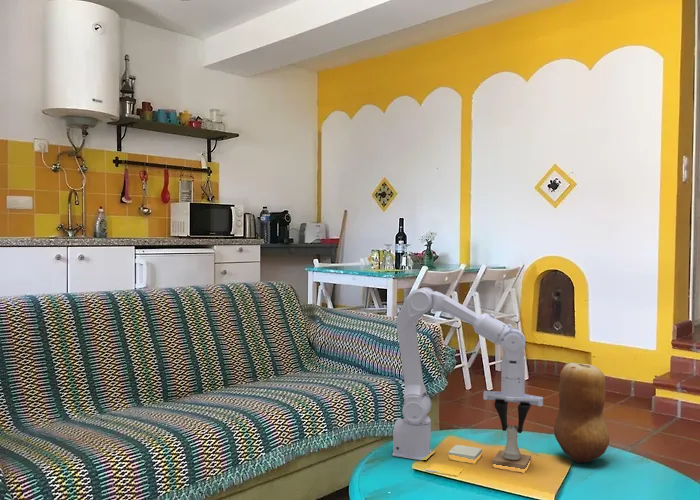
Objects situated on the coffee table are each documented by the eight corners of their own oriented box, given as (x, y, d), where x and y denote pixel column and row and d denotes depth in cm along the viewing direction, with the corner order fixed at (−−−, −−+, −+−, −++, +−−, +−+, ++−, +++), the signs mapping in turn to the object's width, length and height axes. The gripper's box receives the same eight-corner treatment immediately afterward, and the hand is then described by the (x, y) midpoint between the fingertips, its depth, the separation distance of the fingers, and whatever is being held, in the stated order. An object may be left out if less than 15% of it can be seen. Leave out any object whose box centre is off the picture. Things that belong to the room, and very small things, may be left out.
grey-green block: (448, 459, 158) (448, 452, 158) (455, 452, 165) (456, 444, 165) (475, 464, 155) (475, 456, 155) (481, 456, 162) (481, 448, 162)
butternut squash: (620, 466, 156) (621, 367, 156) (577, 471, 151) (579, 370, 151) (582, 449, 169) (583, 358, 169) (541, 454, 164) (543, 360, 164)
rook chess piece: (520, 461, 152) (521, 429, 152) (502, 459, 153) (503, 427, 153) (520, 456, 156) (521, 424, 156) (502, 454, 157) (503, 423, 157)
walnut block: (492, 467, 153) (492, 459, 153) (499, 458, 160) (499, 450, 160) (525, 473, 149) (525, 465, 149) (530, 463, 157) (530, 455, 157)
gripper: (480, 377, 154) (479, 430, 154) (540, 383, 148) (539, 439, 148) (487, 372, 161) (486, 424, 161) (544, 377, 154) (544, 431, 154)
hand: (512, 430), depth 155 cm, fingers closed on rook chess piece, 3 cm apart
